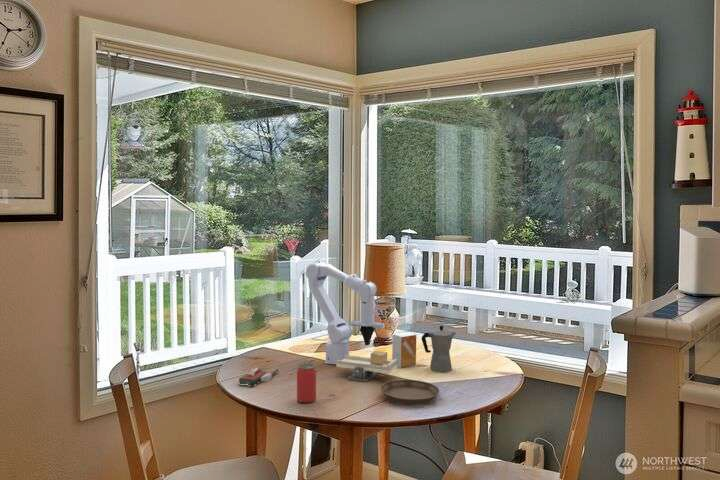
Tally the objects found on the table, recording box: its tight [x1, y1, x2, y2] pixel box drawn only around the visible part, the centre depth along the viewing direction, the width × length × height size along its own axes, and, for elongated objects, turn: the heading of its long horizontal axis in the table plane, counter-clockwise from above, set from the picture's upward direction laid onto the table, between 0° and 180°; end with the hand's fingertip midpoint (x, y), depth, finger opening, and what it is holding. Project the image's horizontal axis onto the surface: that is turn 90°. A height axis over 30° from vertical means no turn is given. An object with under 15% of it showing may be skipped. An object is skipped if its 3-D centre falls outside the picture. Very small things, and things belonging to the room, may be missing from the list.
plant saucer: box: [380, 379, 440, 406], centre depth 212 cm, size 21×21×3 cm
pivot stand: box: [347, 367, 380, 383], centre depth 236 cm, size 8×15×4 cm, turn 158°
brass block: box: [370, 350, 388, 366], centre depth 233 cm, size 5×5×5 cm
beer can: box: [296, 363, 317, 403], centre depth 207 cm, size 7×7×12 cm
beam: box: [335, 354, 398, 374], centre depth 236 cm, size 22×9×3 cm, turn 68°
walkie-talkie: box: [238, 367, 279, 387], centre depth 232 cm, size 9×4×20 cm
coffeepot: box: [421, 325, 457, 373], centre depth 244 cm, size 15×9×18 cm, turn 110°
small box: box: [391, 331, 417, 369], centre depth 251 cm, size 8×6×13 cm
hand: (367, 344), depth 247 cm, fingers closed
